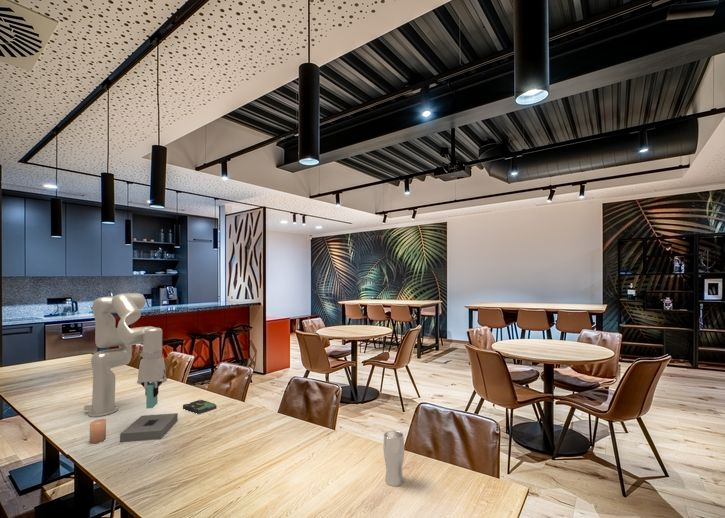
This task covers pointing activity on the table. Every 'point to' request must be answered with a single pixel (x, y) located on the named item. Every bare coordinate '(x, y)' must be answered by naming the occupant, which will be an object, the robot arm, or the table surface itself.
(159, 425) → the socket plate
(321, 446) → the table surface
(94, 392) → the robot arm
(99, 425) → the round terracotta peg
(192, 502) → the table surface
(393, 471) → the beer glass
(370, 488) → the table surface
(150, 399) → the teal bar
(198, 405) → the disk drive
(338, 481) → the table surface
